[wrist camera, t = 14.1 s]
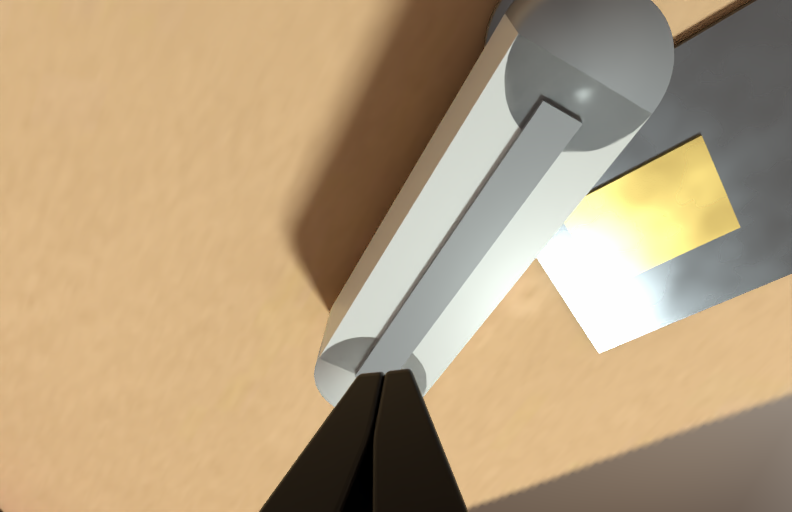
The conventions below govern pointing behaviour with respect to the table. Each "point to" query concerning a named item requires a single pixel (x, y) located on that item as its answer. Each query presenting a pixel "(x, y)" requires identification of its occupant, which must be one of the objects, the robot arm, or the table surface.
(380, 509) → the robot arm
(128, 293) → the table surface
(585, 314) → the label plate
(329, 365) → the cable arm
